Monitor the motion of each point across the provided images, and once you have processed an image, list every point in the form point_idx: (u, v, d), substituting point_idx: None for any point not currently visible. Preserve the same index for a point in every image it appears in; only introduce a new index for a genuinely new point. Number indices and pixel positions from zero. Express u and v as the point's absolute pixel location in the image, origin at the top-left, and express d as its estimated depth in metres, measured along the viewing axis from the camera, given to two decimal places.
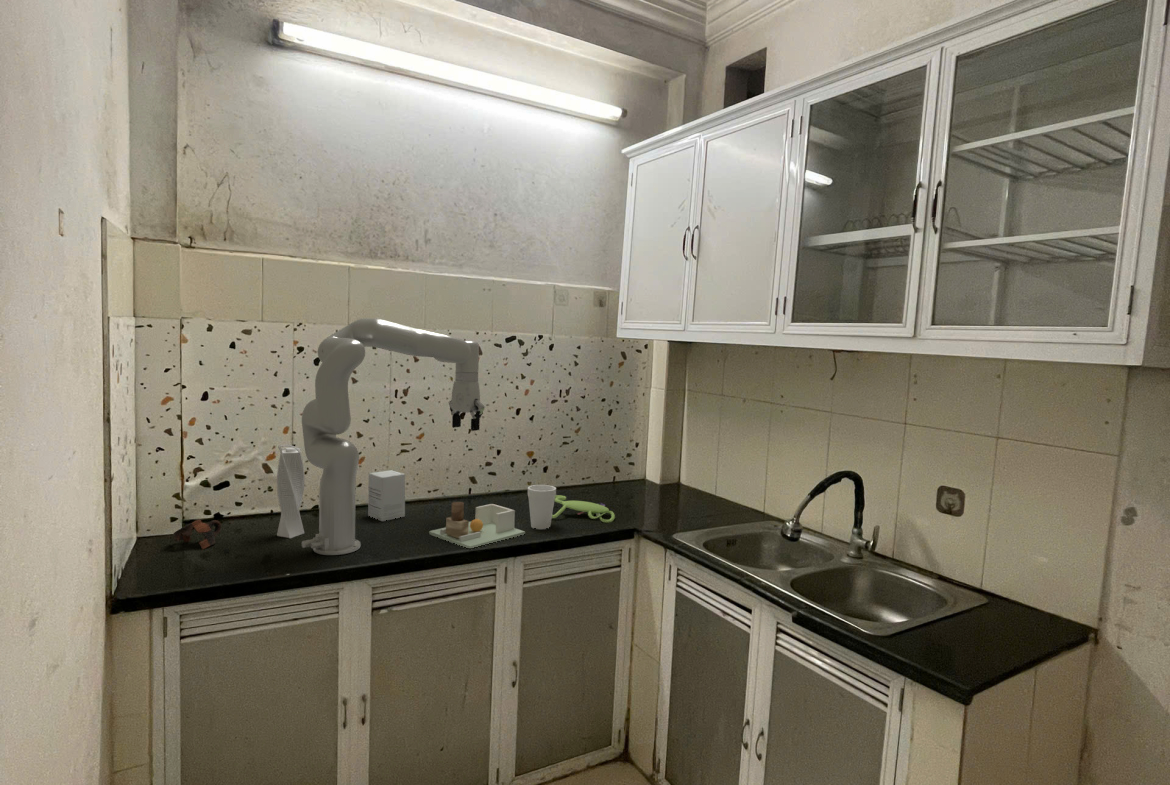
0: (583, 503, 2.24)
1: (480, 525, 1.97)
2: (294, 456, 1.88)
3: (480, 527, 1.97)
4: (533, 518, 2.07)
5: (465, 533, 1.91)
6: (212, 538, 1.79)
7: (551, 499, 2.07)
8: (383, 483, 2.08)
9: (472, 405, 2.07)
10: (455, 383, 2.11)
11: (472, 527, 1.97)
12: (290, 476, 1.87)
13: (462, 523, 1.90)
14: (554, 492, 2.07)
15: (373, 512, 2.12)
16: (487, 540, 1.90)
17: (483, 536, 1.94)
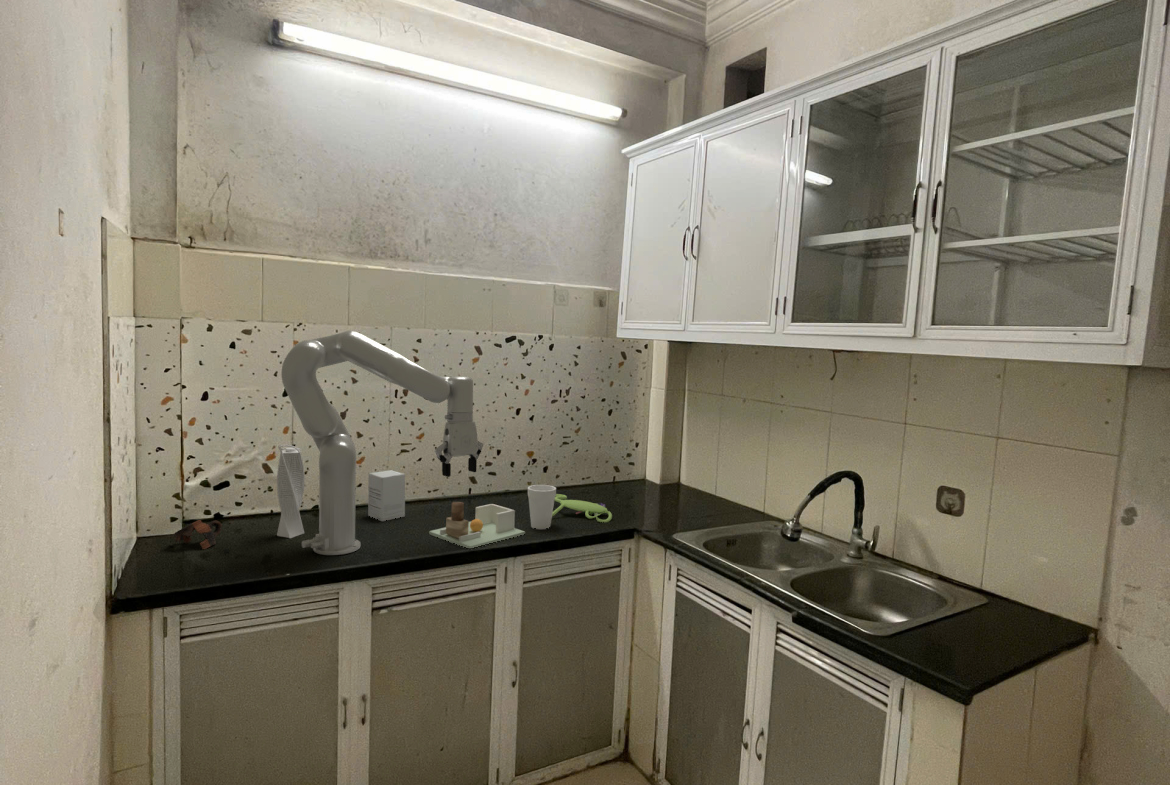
0: (581, 502, 2.25)
1: (480, 525, 1.97)
2: (294, 456, 1.88)
3: (480, 527, 1.97)
4: (533, 518, 2.07)
5: (465, 533, 1.91)
6: (212, 538, 1.79)
7: (551, 499, 2.07)
8: (383, 483, 2.08)
9: None
10: (457, 425, 1.87)
11: (472, 527, 1.97)
12: (290, 476, 1.87)
13: (462, 523, 1.90)
14: (554, 492, 2.07)
15: (373, 512, 2.12)
16: (487, 540, 1.90)
17: (483, 536, 1.94)
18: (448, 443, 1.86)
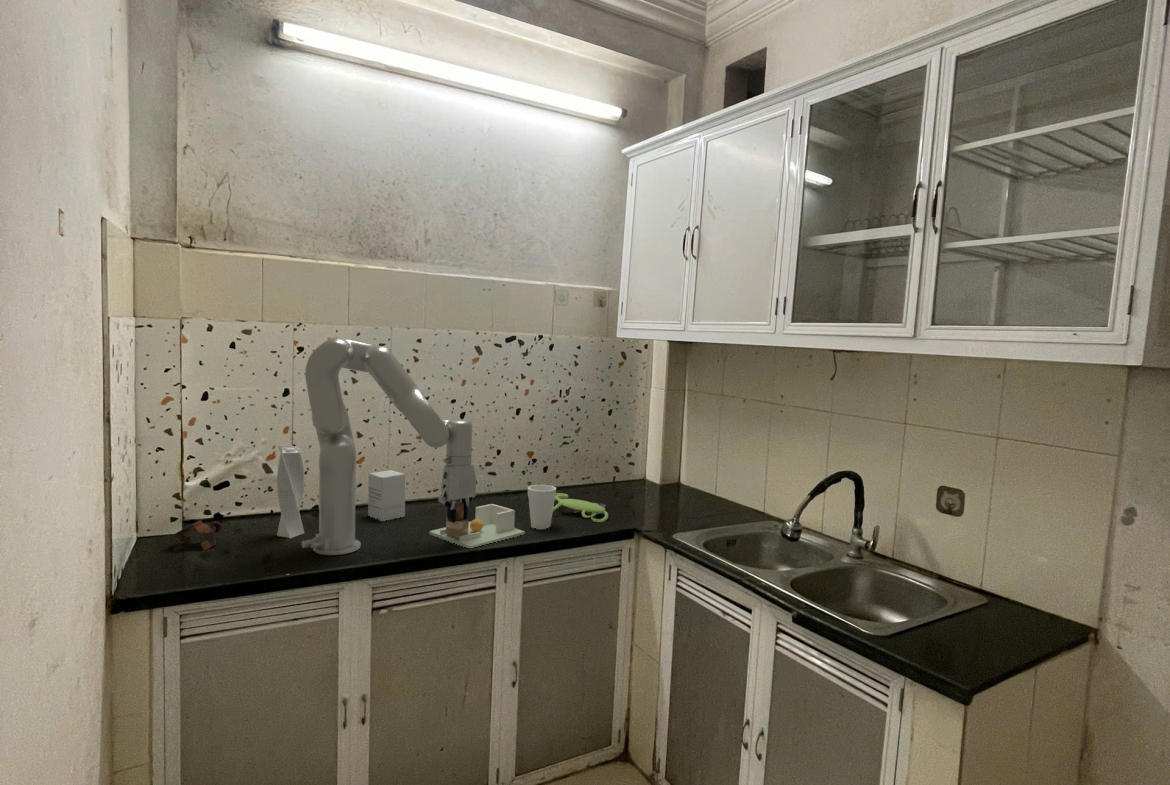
0: (579, 502, 2.26)
1: (480, 525, 1.97)
2: (294, 456, 1.88)
3: (480, 527, 1.97)
4: (533, 518, 2.07)
5: (465, 533, 1.91)
6: (213, 539, 1.79)
7: (551, 499, 2.07)
8: (383, 483, 2.08)
9: None
10: (456, 469, 1.87)
11: (472, 527, 1.97)
12: (290, 476, 1.87)
13: (462, 523, 1.90)
14: (554, 492, 2.07)
15: (373, 512, 2.12)
16: (487, 540, 1.90)
17: (483, 536, 1.94)
18: (446, 487, 1.87)
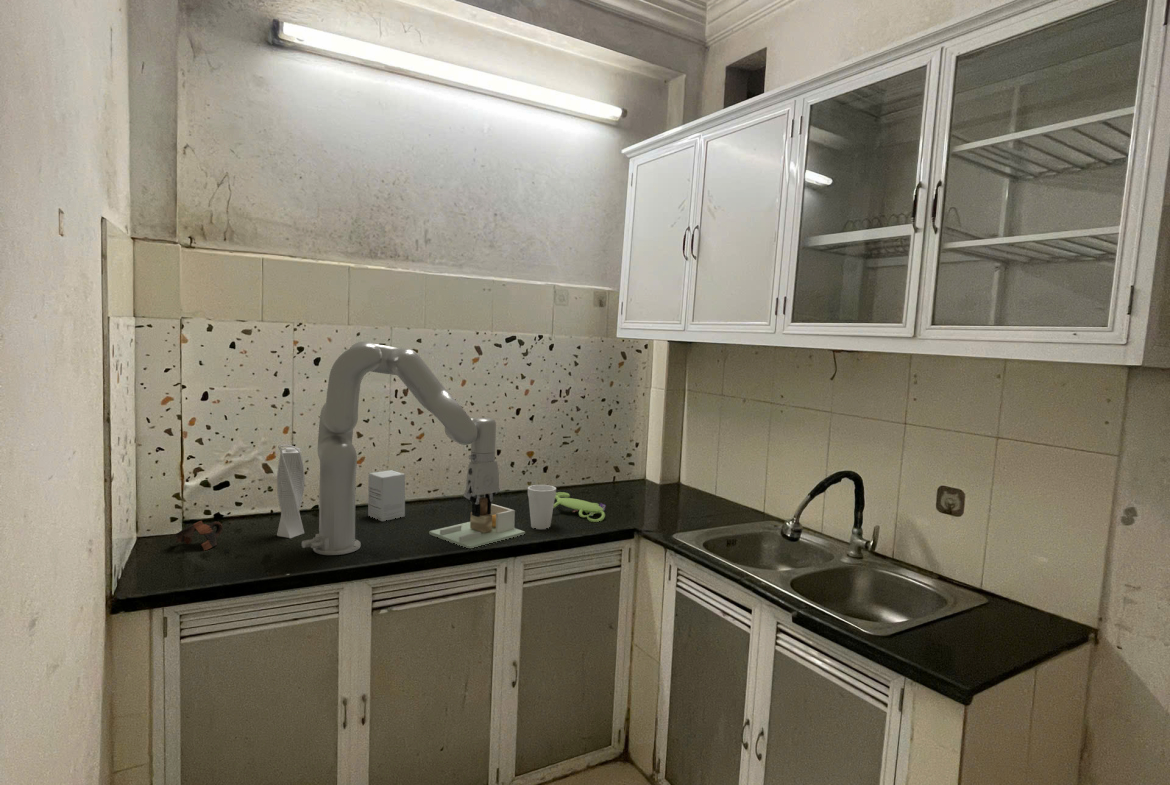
0: (577, 501, 2.26)
1: None
2: (294, 456, 1.88)
3: None
4: (533, 518, 2.07)
5: (489, 527, 1.98)
6: (214, 539, 1.78)
7: (551, 499, 2.07)
8: (383, 483, 2.08)
9: None
10: (481, 465, 1.95)
11: None
12: (290, 476, 1.87)
13: (486, 517, 1.97)
14: (554, 492, 2.07)
15: (373, 512, 2.12)
16: (487, 540, 1.90)
17: (483, 536, 1.94)
18: (471, 482, 1.94)
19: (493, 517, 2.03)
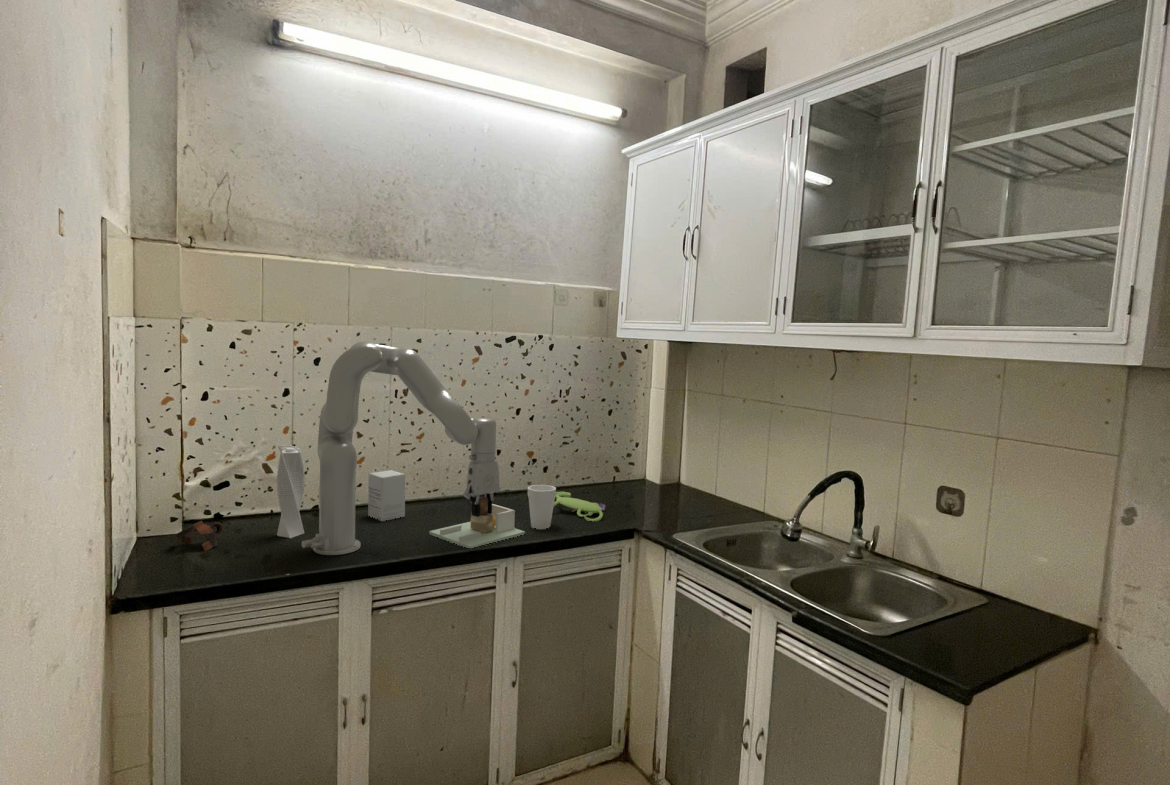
0: (576, 501, 2.27)
1: (494, 524, 2.01)
2: (294, 456, 1.88)
3: (493, 522, 2.01)
4: (533, 518, 2.07)
5: (489, 527, 1.98)
6: (214, 540, 1.78)
7: (551, 499, 2.07)
8: (383, 483, 2.08)
9: None
10: (481, 465, 1.95)
11: None
12: (290, 476, 1.87)
13: (486, 517, 1.97)
14: (554, 492, 2.07)
15: (373, 512, 2.12)
16: (487, 540, 1.90)
17: (483, 536, 1.94)
18: (472, 482, 1.94)
19: None
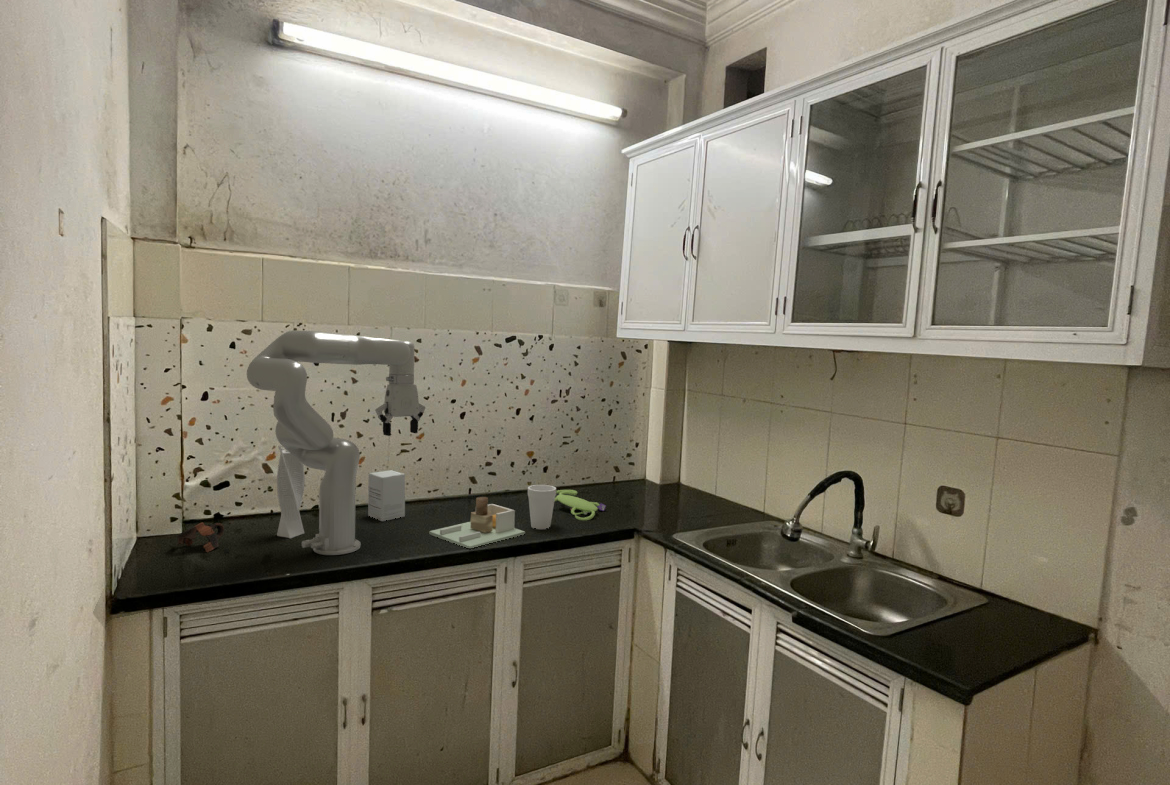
0: (573, 499, 2.30)
1: None
2: None
3: None
4: (533, 518, 2.07)
5: (489, 527, 1.98)
6: (216, 541, 1.77)
7: (551, 499, 2.07)
8: (383, 483, 2.08)
9: None
10: (398, 387, 1.96)
11: None
12: (290, 476, 1.87)
13: (486, 517, 1.97)
14: (554, 492, 2.07)
15: (373, 512, 2.12)
16: (487, 540, 1.90)
17: (483, 536, 1.94)
18: (388, 403, 1.95)
19: (493, 517, 2.03)
